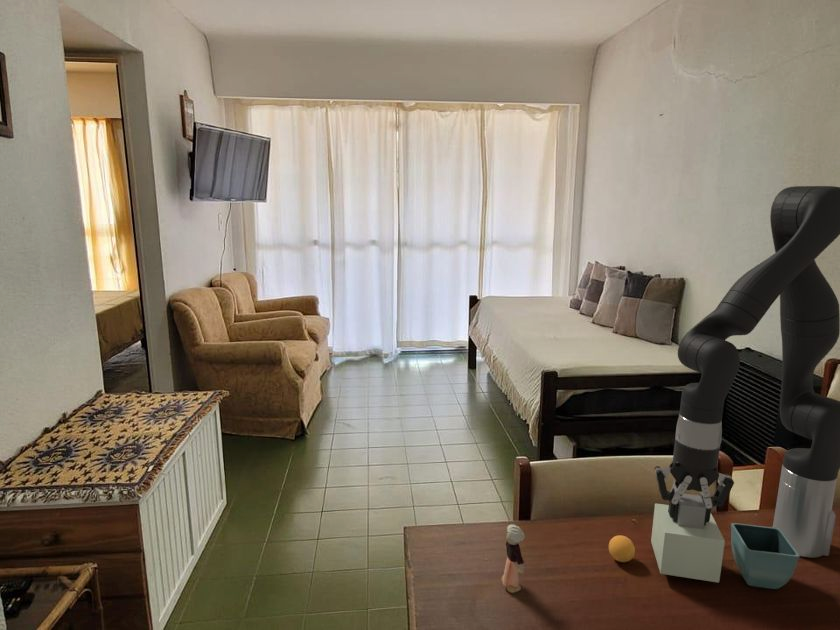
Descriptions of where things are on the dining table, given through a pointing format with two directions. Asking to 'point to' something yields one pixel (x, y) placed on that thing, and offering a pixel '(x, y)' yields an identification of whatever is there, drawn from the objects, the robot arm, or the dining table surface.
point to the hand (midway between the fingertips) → (687, 520)
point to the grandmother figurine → (513, 559)
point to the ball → (621, 548)
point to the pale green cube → (687, 541)
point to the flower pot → (763, 555)
